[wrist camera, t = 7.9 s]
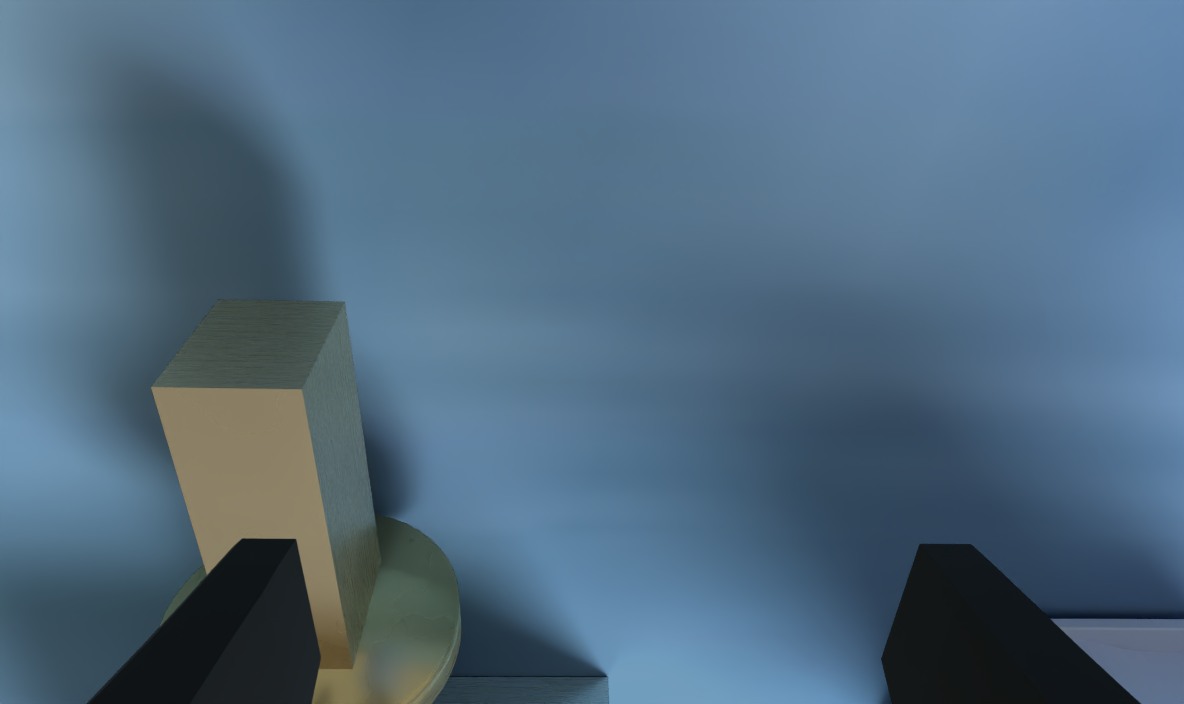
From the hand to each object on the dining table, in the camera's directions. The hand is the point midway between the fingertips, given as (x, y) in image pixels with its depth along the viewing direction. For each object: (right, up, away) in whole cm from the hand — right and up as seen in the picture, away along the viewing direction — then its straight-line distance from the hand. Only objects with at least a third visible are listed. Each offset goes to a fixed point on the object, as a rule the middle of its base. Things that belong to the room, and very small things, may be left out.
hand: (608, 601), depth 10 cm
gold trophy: (-6, -1, +11) cm, 13 cm away
